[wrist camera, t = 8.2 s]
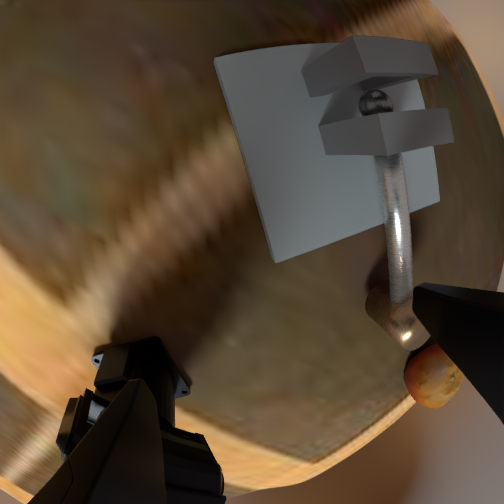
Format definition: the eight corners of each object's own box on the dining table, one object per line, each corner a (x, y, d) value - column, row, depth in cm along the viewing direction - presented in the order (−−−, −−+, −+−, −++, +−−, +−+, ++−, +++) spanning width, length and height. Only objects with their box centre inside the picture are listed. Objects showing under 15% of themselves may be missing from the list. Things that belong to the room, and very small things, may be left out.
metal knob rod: (398, 307, 22) (435, 336, 18) (366, 324, 22) (401, 358, 17) (368, 94, 16) (418, 81, 11) (326, 99, 16) (372, 82, 11)
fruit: (393, 409, 28) (431, 425, 21) (386, 355, 30) (426, 362, 22) (437, 383, 30) (476, 391, 22) (431, 333, 31) (472, 332, 23)
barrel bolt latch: (432, 199, 21) (496, 217, 14) (271, 258, 20) (314, 310, 13) (398, 48, 16) (461, 28, 9) (213, 63, 15) (229, 6, 8)
